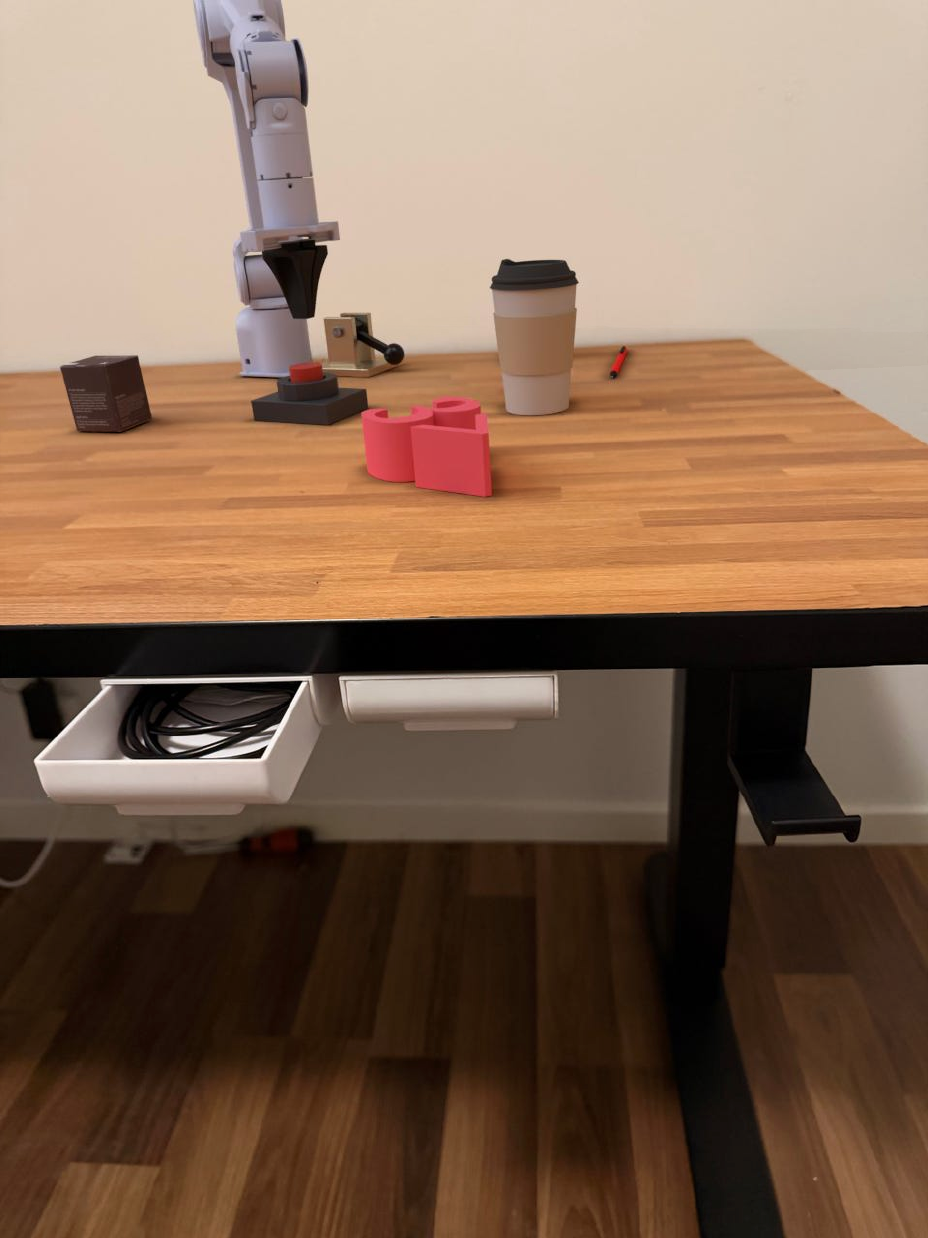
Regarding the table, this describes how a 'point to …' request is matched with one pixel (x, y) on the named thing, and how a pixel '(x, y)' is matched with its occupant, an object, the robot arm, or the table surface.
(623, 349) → the pen
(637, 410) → the table surface
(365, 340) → the black lever handle
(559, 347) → the coffee cup
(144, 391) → the box
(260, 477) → the table surface
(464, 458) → the letters
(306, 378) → the button
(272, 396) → the block
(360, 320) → the lever bracket
